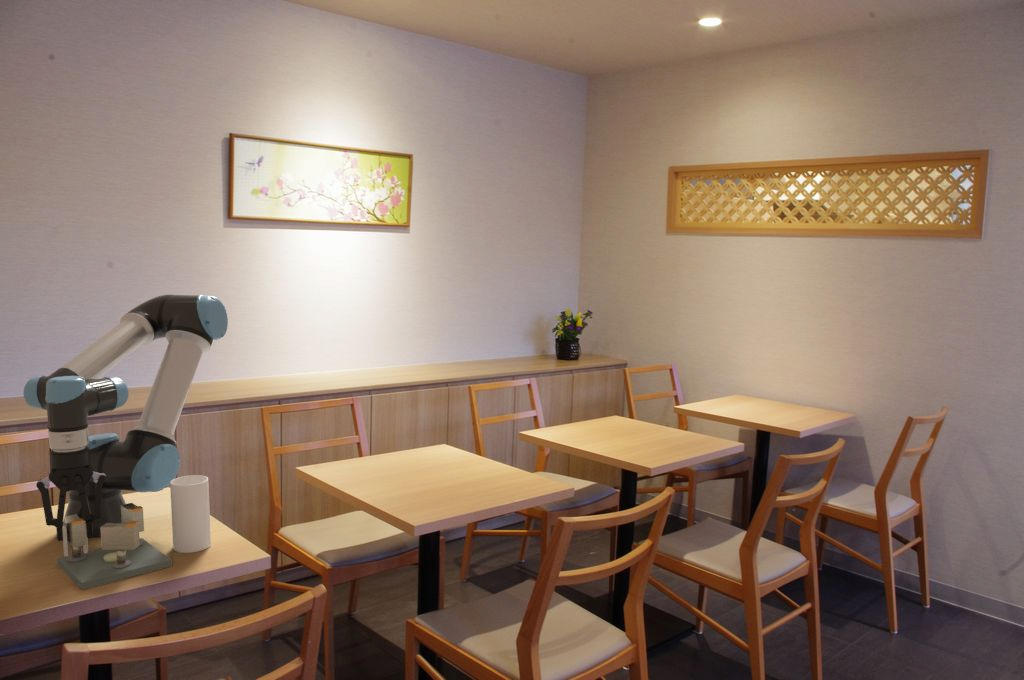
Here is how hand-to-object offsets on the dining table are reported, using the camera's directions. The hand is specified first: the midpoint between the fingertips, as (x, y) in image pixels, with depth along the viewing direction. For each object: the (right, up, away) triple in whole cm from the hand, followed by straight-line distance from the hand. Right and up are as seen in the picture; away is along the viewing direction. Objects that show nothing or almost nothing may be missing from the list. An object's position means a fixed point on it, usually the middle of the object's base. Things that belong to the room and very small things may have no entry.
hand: (76, 552), depth 174 cm
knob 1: (+12, -2, -3) cm, 12 cm away
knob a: (0, -2, 0) cm, 2 cm away
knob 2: (+9, -1, +8) cm, 12 cm away
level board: (+8, -3, +1) cm, 9 cm away
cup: (+21, -2, +12) cm, 24 cm away
